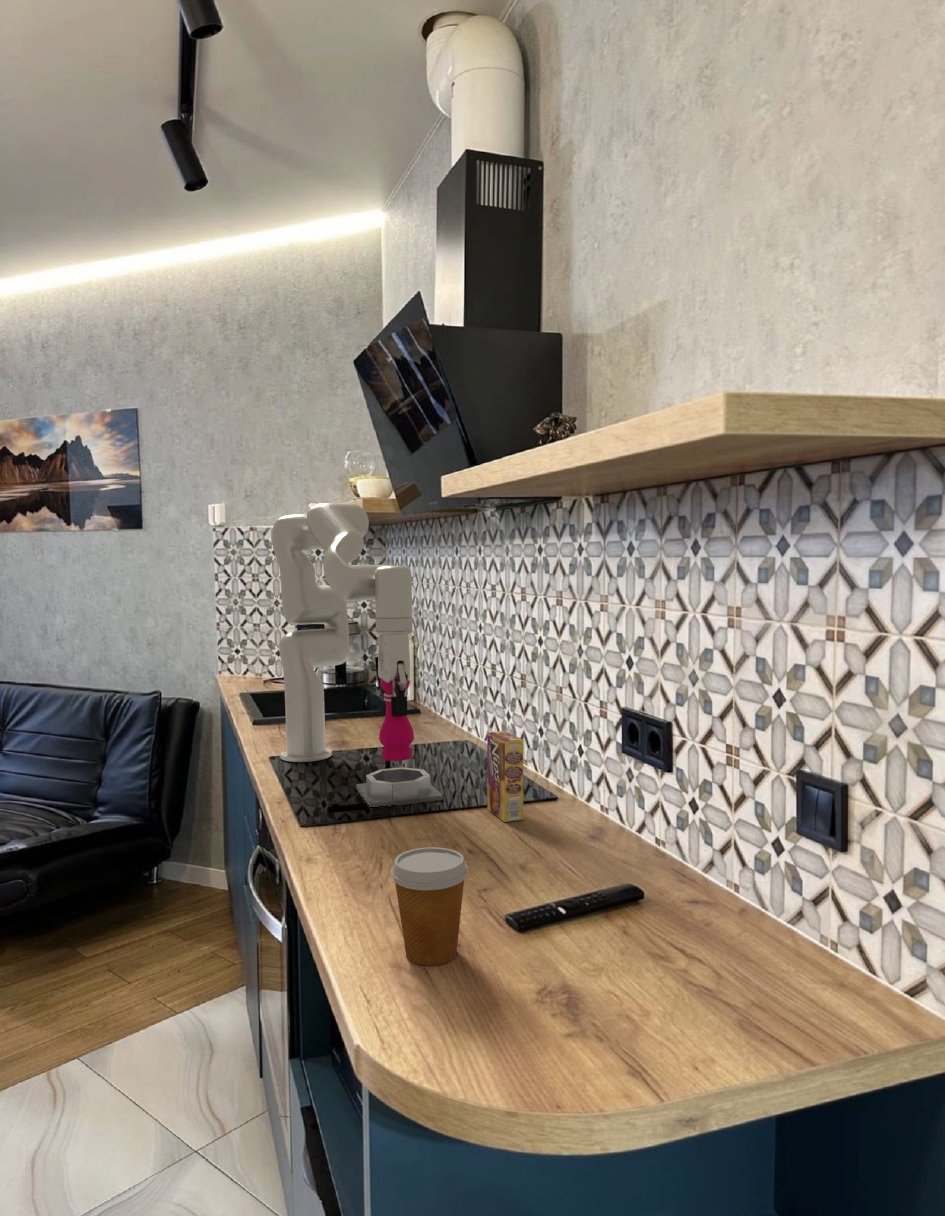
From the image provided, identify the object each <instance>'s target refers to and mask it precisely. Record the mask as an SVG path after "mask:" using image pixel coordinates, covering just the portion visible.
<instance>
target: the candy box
mask: <svg viewBox="0 0 945 1216" xmlns="http://www.w3.org/2000/svg"><path fill="white" fill-rule="evenodd" d="M486 741H487V742H486V744H487V745H486V749H487V753H486V754H487V755H486V760H487V765H486V766H487V767H486V768H487V770H486V771H487V772H486V773H487V775H486V777H487V778H486V779H487V780H486V781H487V786H486V787H487V788H486V789H487V797H486V798H487V811H488V812H490V813H491V814H493V815H494V816H496V817H497V819H499V820H501V821H503V822H504V823H508V822H509V823H510V822H518V821H523V820H524V749H525V748H524V743H525V742H524V739H522V738H520V737H517V736H516V735H515V734H512V733H510V732H508V731H505V730H500V731H499V730H498V731H489V732H487V734H486Z"/></svg>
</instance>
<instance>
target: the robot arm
mask: <svg viewBox="0 0 945 1216" xmlns="http://www.w3.org/2000/svg"><path fill="white" fill-rule="evenodd" d="M369 522H370V521H369V517H368V514H367V512H366V510H365V509H364V508H363V507H362V506H360V505H359V504H355V503H345V502H342V503H340V502H337V503H336V502H322V503H321V502H320V503H318V504H316V505H313V506H312V507H311V508H309V509H308V511H307V512H306V514H300V513H299V514H288V515H283V516H281V517H279V518H277V519H276V521H275V522H274V524H273V526H272V531H271V545H272V548H273V552H274V556H275V559H276V561H277V563H278V567H279V574H280V577H279V578H280V589H281V590H280V592H281V605H282V612H283V616H284V617H283V618H284V620H285V621H286V622H287V623H288V624H291V625H301V626H302V625H315V624H316V625H317V624H323V625H324V628H318V629H317V628H313V629H300V630H293V631H290V632H287V633H285V634H284V635H283V636H282V637H281V639H280V641H279V645H278V646H279V647H278V649H279V650H278V651H279V656H280V657H279V658H280V661H281V662H280V663H281V666H282V667H281V668H282V672H283V684H284V685H283V686H284V703H285V704H284V705H285V706H284V707H285V734H286V735H285V738H286V739H285V740H286V749H285V750H283V751H281V752H280V755H279V757H280V759H281V760H283V761H286V762H290V763H291V762H292V763H309V762H310V763H311V762H317V761H322V760H326V759H329V758H330V757H331V756H333V750H332V749H331V748H328V747H326V728H325V727H326V726H325V725H326V723H325V721H326V720H325V719H326V717H325V691H324V689H325V688H324V684H323V681H322V679H321V678H320V676H319V675H318V674H317V672H316V671H315V669H316V668H323V667H332V666H339V665H343V664H345V663H346V662H347V660H348V659H349V656H350V648H351V647H350V631H349V618H348V617H349V616H348V615H349V614H348V605H347V602H358V601H359V602H360V601H361V602H362V601H375V608H374V609H375V634H377V635H378V636H379V637H378V654H377V655H378V658H377V661H378V662H377V675H378V678H380V679H381V678H382V679H383V680H384V681H385V682H387V683H390V681H392V695H393V697H391V715H392V716H393V717H397V716H406V715H407V716H408V699H407V697H408V695H407V693H408V691H407V690H408V689H407V690H406V684H407V681H408V680H409V679H411V658H410V657H411V654H410V652H411V651H410V640H409V634H413V632H414V631H413V629H414V627H413V626H414V625H413V623H414V622H413V591H412V590H413V586H412V583H413V581H412V570H411V569H410V567H408V566H405V565H392V564H391V565H390V564H350V563H352V562H354V561H355V560H356V559H357V558H358V557H360V554H361V553H362V551H363V549H364V539H363V538H364V537H365V536H366V535H367V534H368V531H369V524H370V523H369ZM303 550H323V551H325V554H324V557H323V562H322V563H323V565H322V567H323V568H322V569H323V574H324V578H325V581H326V582H327V584H328V585H326V584H325V585H318V584H317V581H316V570H315V565H314V563H313V562H312V560H311V558H310V557H309V556H308V555H307V554H306V553H305V552H304V551H303ZM405 673H406V676H407V677H405ZM394 679H399V681H394ZM406 679H407V680H406ZM397 684H399V685H397ZM395 685H397V687H395ZM384 708H385V709H384V711H386V701H385V700H384Z"/></svg>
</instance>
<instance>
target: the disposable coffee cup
mask: <svg viewBox="0 0 945 1216" xmlns="http://www.w3.org/2000/svg"><path fill="white" fill-rule="evenodd" d="M468 871H469V868H468V865H467V863H466V862H465V857H464V856H463V854H462V853H460V852H459V851H457V850H454V849H451V848H447V847H435V846H434V847H433V846H431V847H429V846H428V847H421V848H420V847H418V848H414V849H413V848H412V849H410V850H407V851H403V852H402V853H400V854H398V855H397V856H396V857H395V858H394V862H393V866H392V867H391V869H390V875H391V877H392V879H393V882H394V883H395V889H396V897H397V898H396V899H397V903H398V909H399V916H400V924H401V931H402V936H403V944H404V951H405V957H406V959H407V960H408V961H409V962H411V963H413V964H415V965H418V966H426V967H431V966H433V967H434V966H439V965H444V964H447V963H449V962H451V961H452V960H453V959H455V958H456V957H457V951H458V943H459V935H460V934H459V933H460V924H461V913H462V906H463V905H462V904H463V903H462V902H463V894H464V886H465V879H466V876H467V874H468Z"/></svg>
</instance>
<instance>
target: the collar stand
mask: <svg viewBox="0 0 945 1216" xmlns="http://www.w3.org/2000/svg"><path fill="white" fill-rule="evenodd" d="M365 779H366V780H365V782H364V783H356V784H355V789H356V791H357V790H358V791H357V792H358V793H360V794H359V796H360V797H361V798H362V797H363V798H364V799H363V798H362V799H363V801H364V800H365V801H366V802H367V804H368V805H369V807H379V806H388V807H392V806H391V805H397V806H402V805H403V806H405V805H412V804H413V805H414V804H423V803H422V802H424V803H431V802H433V803H434V802H440V801H444V795H443V794H442V793H441V792H440V791H439V790H438V789H437V788H436V787H435V786H434V785H433V784H432V783H431V775H430V774H429V773H428V772H427V771H426V770H425V769H421V768H411V767H406V766H405V767H404V766H403V767H391V768H384V769H383V768H381V769H378V770H375V771H373V772H370V773H369V774H366V775H365ZM365 801H364V802H365ZM366 802H365V803H366ZM367 804H366V805H367ZM368 805H367V806H368ZM369 807H368V808H369ZM379 808H380V807H379Z"/></svg>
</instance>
